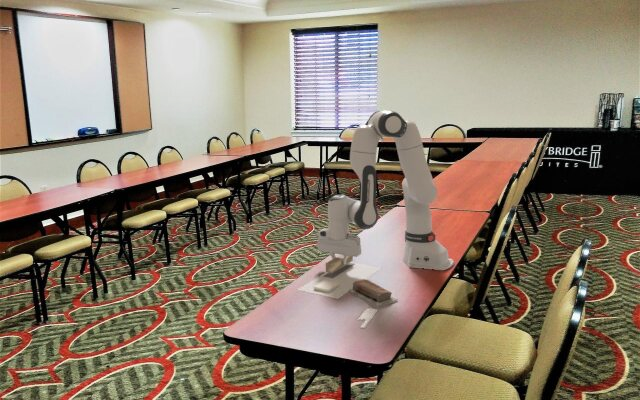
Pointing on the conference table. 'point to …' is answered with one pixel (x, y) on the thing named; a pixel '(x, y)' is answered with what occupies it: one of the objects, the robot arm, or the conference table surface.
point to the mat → (341, 279)
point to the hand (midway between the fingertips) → (339, 263)
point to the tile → (326, 286)
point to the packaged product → (372, 293)
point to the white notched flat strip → (367, 316)
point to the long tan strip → (337, 263)
